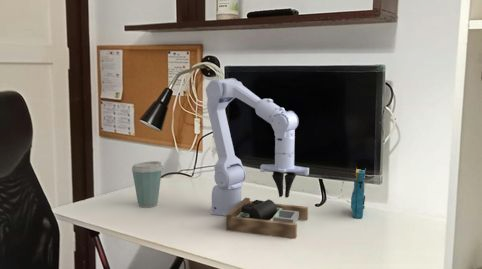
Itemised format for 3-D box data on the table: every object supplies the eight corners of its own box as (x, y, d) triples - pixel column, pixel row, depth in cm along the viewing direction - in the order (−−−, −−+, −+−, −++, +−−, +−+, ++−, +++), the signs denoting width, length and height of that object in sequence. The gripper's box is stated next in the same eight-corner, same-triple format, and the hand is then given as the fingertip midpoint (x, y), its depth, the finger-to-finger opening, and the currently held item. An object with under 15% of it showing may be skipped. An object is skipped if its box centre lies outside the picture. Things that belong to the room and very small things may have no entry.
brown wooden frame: (226, 230, 151) (226, 214, 150) (245, 212, 168) (245, 197, 167) (295, 238, 145) (295, 221, 144) (307, 218, 161) (308, 203, 161)
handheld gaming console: (363, 219, 161) (365, 173, 159) (350, 218, 162) (352, 172, 160) (364, 210, 170) (366, 166, 168) (352, 209, 171) (353, 165, 169)
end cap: (260, 230, 151) (260, 208, 150) (240, 226, 155) (240, 204, 154) (277, 221, 160) (277, 200, 158) (258, 217, 163) (258, 197, 162)
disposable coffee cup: (127, 208, 172) (126, 165, 169) (139, 199, 182) (137, 158, 180) (158, 210, 170) (156, 166, 168) (167, 201, 181) (166, 159, 178)
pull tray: (234, 227, 152) (234, 216, 152) (249, 213, 166) (249, 203, 165) (290, 234, 147) (290, 223, 146) (300, 219, 160) (301, 208, 160)
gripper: (257, 153, 150) (257, 197, 152) (306, 156, 145) (305, 202, 147) (264, 148, 156) (263, 191, 158) (310, 151, 152) (309, 195, 154)
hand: (284, 196), depth 153 cm, fingers closed
